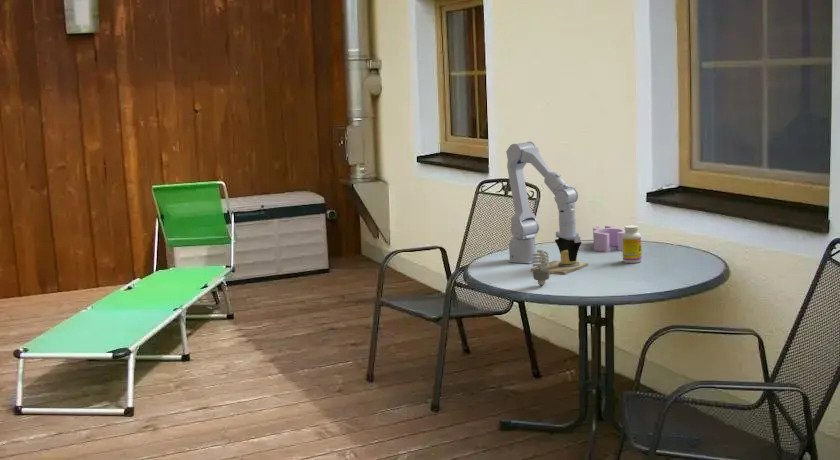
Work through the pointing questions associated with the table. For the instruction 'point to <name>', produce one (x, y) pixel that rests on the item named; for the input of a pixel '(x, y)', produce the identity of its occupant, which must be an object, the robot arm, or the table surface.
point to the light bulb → (541, 273)
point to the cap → (566, 258)
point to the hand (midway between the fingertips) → (568, 259)
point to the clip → (607, 238)
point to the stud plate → (562, 267)
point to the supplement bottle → (631, 245)
